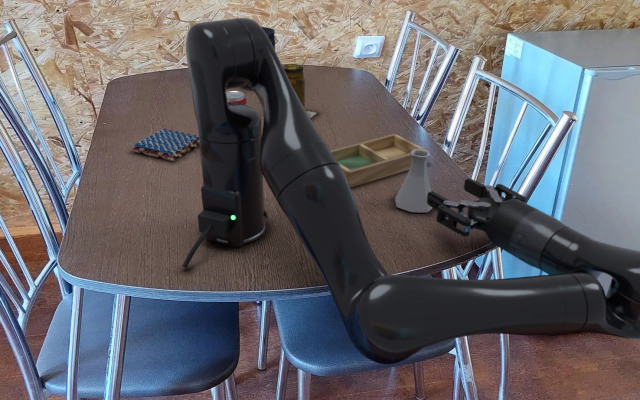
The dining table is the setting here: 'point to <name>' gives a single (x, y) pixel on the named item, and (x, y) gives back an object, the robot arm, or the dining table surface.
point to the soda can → (236, 97)
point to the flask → (415, 185)
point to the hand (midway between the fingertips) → (447, 189)
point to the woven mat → (166, 144)
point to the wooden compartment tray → (375, 158)
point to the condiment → (297, 82)
